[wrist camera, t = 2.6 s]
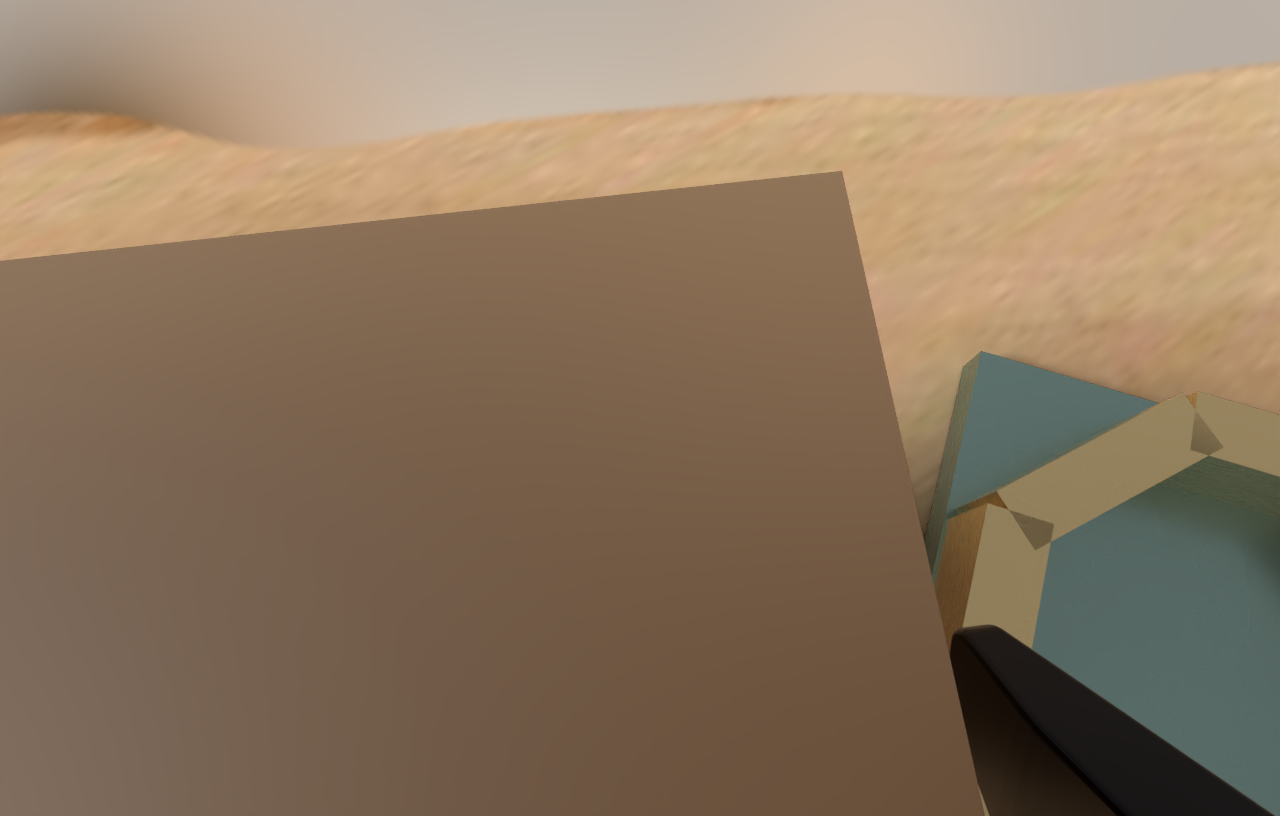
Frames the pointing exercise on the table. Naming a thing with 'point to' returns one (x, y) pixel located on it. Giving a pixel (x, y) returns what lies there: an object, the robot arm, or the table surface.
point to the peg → (469, 522)
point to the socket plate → (1123, 552)
